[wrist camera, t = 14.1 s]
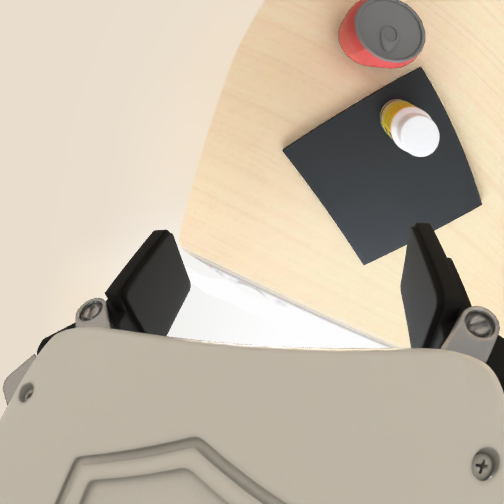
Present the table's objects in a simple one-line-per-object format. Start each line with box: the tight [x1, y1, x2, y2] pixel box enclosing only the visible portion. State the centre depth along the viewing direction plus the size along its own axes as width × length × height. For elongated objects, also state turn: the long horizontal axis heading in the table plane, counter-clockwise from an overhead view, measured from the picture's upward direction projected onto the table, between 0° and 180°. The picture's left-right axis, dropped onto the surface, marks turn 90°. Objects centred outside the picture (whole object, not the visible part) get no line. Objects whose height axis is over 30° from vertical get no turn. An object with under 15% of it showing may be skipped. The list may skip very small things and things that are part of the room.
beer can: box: [339, 0, 425, 68], centre depth 20 cm, size 7×7×12 cm
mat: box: [283, 67, 482, 265], centre depth 33 cm, size 20×20×1 cm
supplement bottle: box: [380, 99, 440, 157], centre depth 25 cm, size 5×5×8 cm
